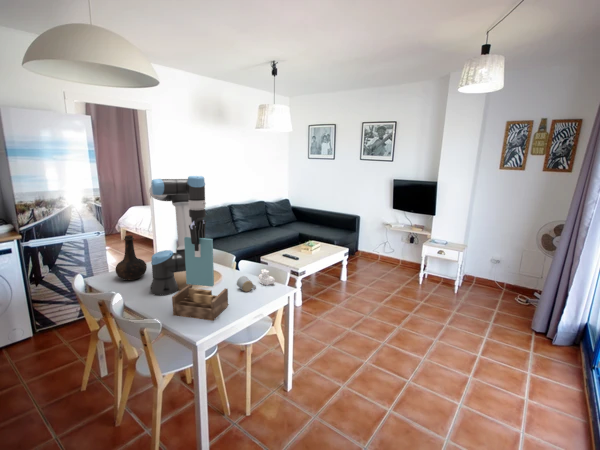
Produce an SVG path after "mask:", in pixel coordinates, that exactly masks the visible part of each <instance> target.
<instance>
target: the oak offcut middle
mask: <svg viewBox="0 0 600 450" xmlns="http://www.w3.org/2000/svg"><path fill="white" fill-rule="evenodd" d="M195 293H196V294H204V295H213V294H212V293H213V292H212V290H210V289H202V288H201V289H200V288H194V287H192V288H189V299H193V294H195Z"/></svg>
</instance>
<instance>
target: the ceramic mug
mask: <svg viewBox="0 0 600 450" xmlns="http://www.w3.org/2000/svg"><path fill="white" fill-rule="evenodd" d="M236 285H237V287H238V288H239V289H240V290H241V291H242V292H247V293H248V292H251V290H252V289H253V290H255V289H256V288H257V286H256V285H255V284H254V283H253V281H252V280H251V279H249V278H248V276H245V275H242V276H240V277H239V278H237V281H236Z"/></svg>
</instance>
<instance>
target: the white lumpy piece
mask: <svg viewBox="0 0 600 450" xmlns="http://www.w3.org/2000/svg"><path fill="white" fill-rule="evenodd" d="M260 272H261V273H260V274H259V275H258V278H257V279H259V282H260V283H261V284H262V285H263V286H264V285H265V286H268V285H274V284H275V280H276V279H275V277H274V276H270V275H269V273H270V270H267V269H265V268H264V269H261V270H260Z"/></svg>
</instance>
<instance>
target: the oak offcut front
mask: <svg viewBox="0 0 600 450" xmlns="http://www.w3.org/2000/svg"><path fill="white" fill-rule="evenodd" d="M212 300H213V294H212V295H204V294H196V293H195V294H193V301H194V303H202V304H210V305H211V301H212Z"/></svg>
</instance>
